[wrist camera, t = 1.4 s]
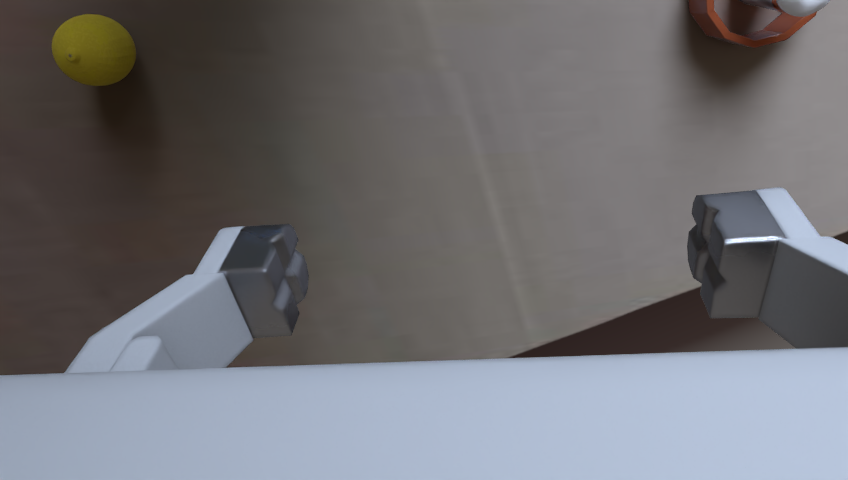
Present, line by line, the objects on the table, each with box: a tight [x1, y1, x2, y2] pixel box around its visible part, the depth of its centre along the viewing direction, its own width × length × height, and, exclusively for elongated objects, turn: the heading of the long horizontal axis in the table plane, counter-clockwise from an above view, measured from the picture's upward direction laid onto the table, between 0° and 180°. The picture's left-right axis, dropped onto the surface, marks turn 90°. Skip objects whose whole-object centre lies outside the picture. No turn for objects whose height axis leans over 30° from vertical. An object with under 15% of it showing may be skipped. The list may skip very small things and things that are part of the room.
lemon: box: [52, 14, 136, 86], centre depth 49 cm, size 6×6×8 cm
